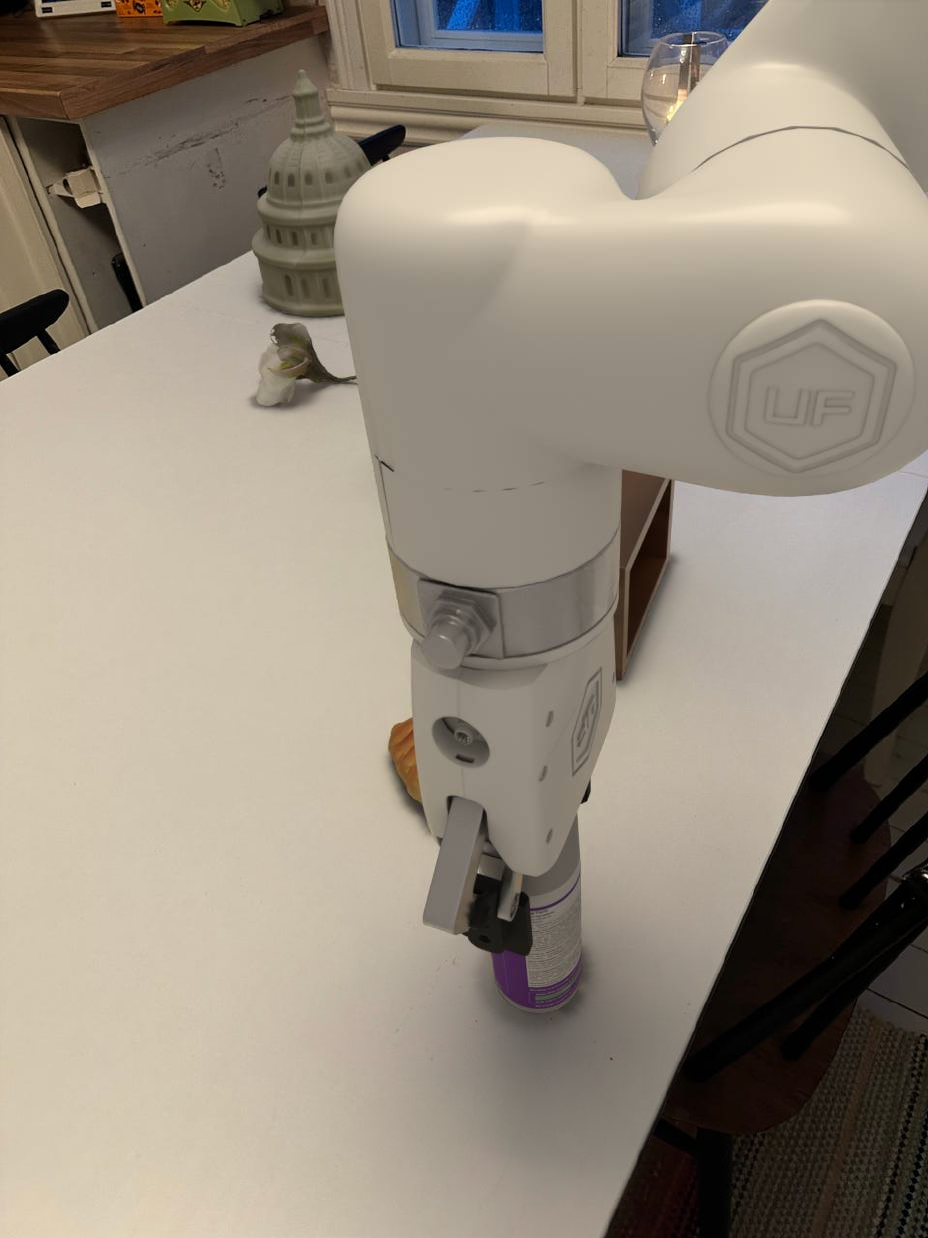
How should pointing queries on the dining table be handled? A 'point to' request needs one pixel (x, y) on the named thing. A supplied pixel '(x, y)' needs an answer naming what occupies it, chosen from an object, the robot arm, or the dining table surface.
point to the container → (545, 934)
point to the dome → (305, 210)
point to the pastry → (405, 756)
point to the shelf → (640, 555)
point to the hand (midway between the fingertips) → (528, 860)
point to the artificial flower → (289, 364)
